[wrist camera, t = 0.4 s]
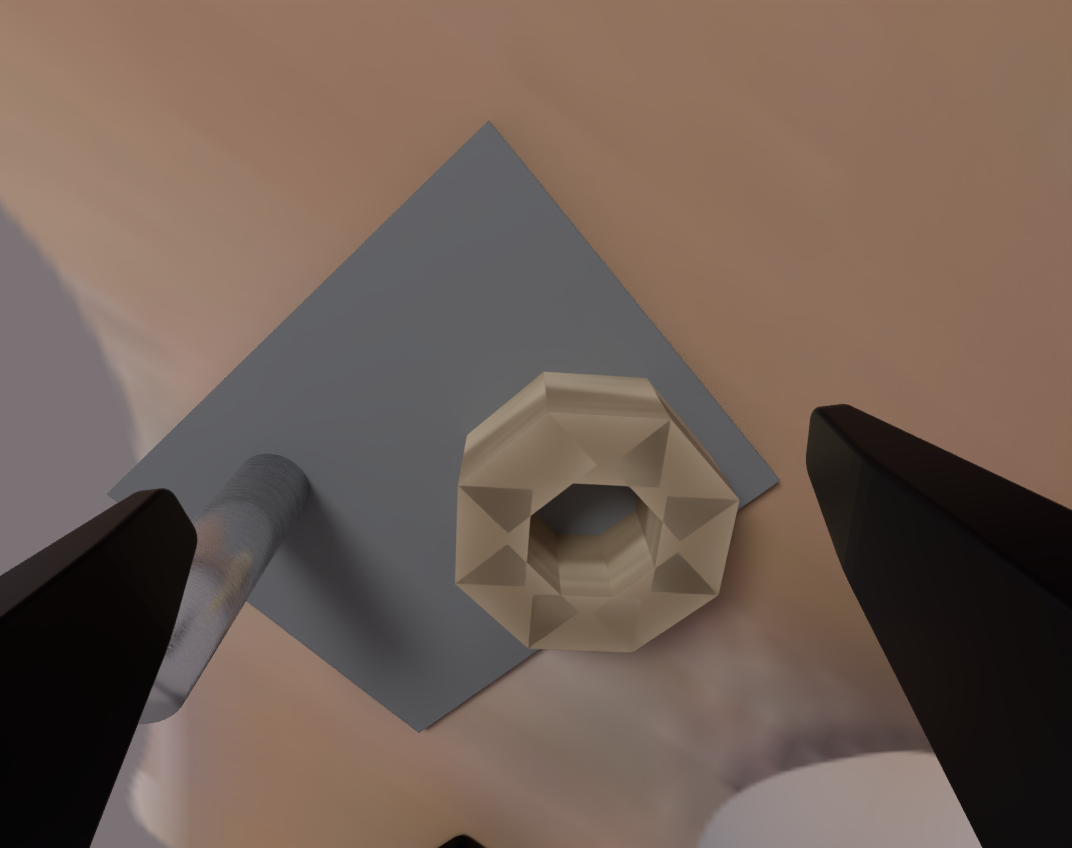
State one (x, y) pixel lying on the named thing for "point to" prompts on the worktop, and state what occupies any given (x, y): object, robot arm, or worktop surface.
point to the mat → (425, 422)
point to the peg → (226, 569)
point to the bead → (578, 559)
